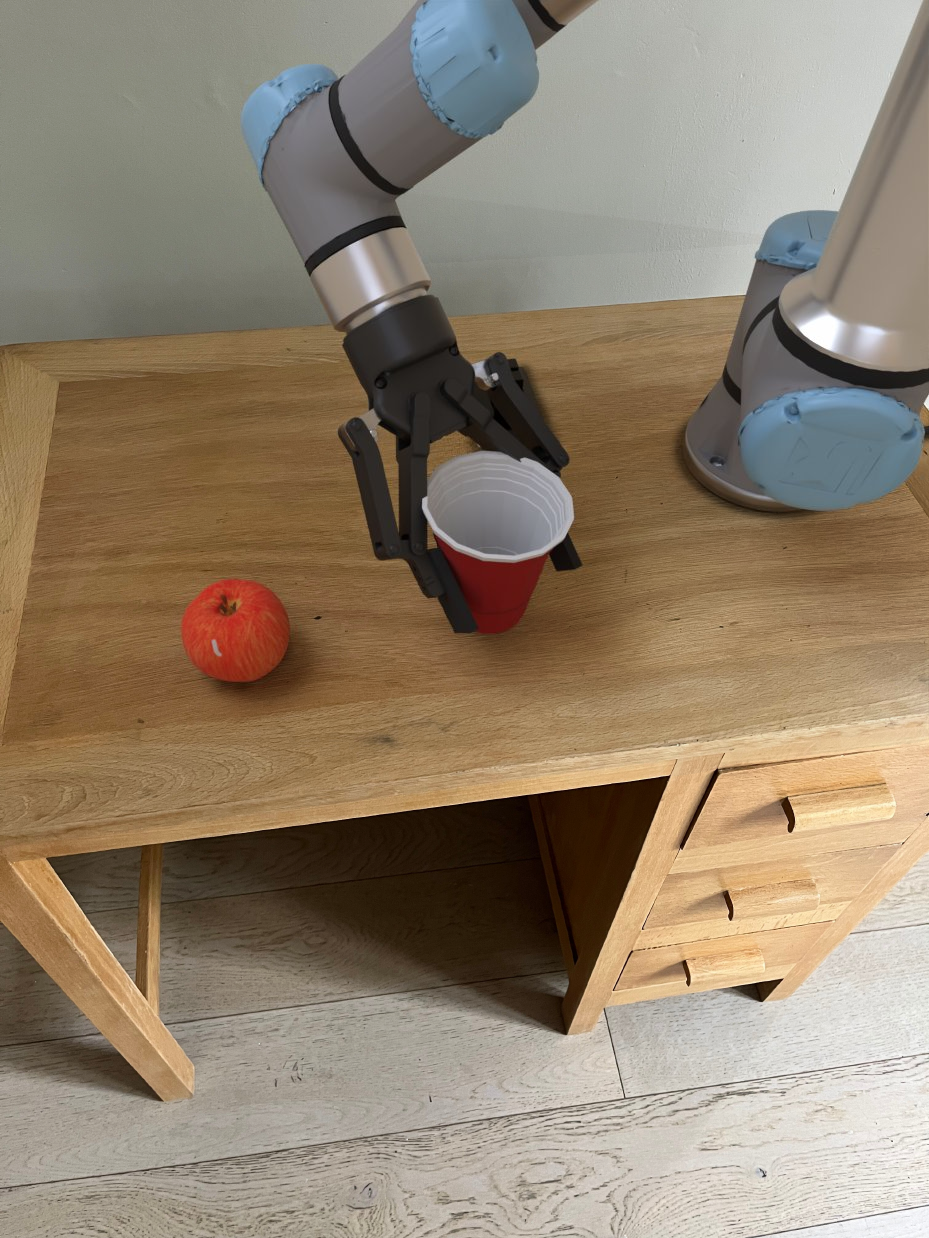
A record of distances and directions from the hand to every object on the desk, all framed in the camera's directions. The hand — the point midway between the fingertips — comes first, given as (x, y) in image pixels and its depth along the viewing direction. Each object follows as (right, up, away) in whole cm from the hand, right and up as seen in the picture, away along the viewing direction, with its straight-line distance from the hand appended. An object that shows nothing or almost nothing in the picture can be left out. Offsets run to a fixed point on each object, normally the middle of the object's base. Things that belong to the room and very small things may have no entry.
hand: (519, 598), depth 64 cm
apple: (-21, -5, +4) cm, 22 cm away
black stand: (0, +20, +24) cm, 31 cm away
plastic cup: (-2, -1, +5) cm, 5 cm away
